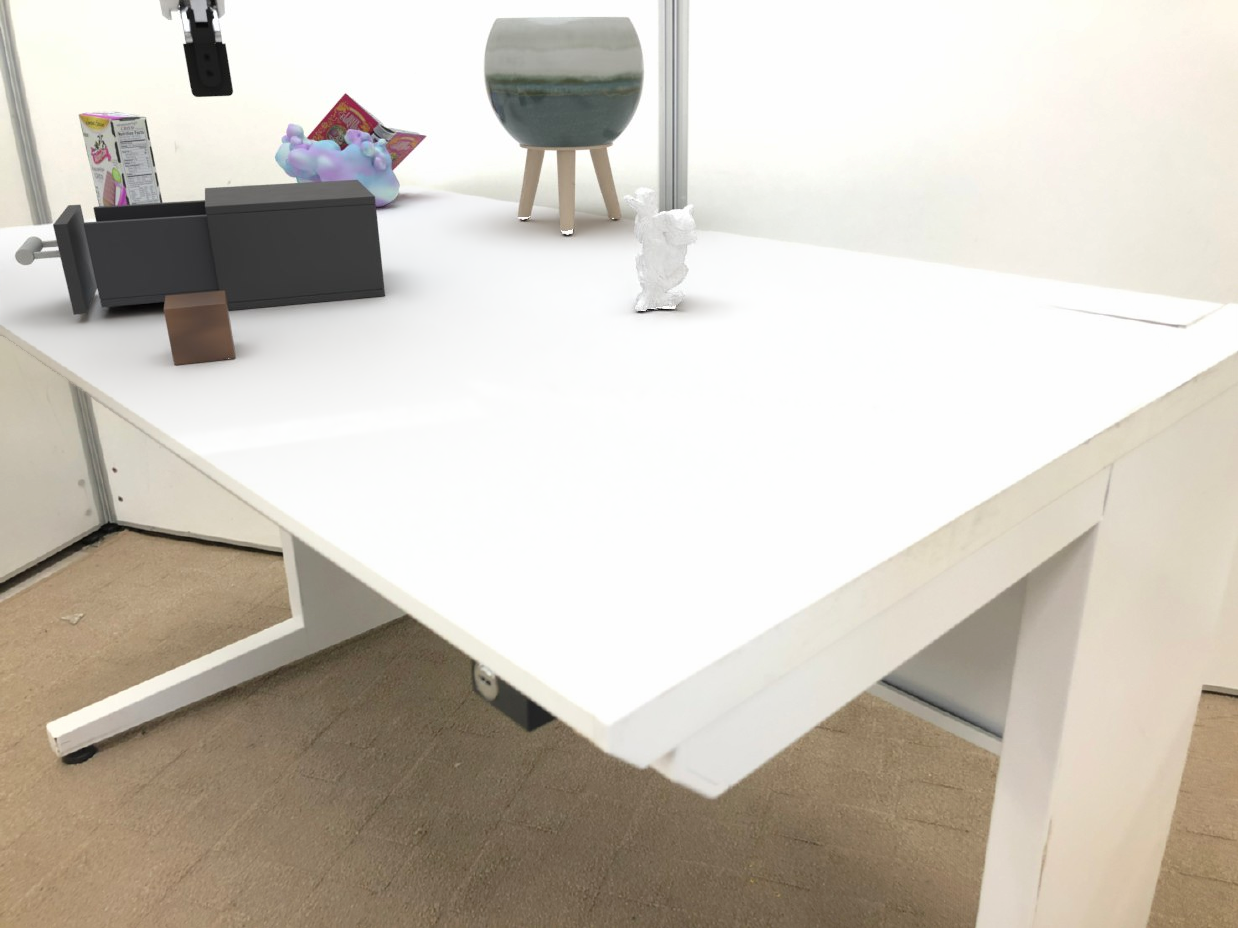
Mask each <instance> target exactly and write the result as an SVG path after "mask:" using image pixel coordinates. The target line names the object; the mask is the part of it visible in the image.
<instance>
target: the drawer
mask: <svg viewBox="0 0 1238 928" xmlns="http://www.w3.org/2000/svg"><path fill="white" fill-rule="evenodd" d="M93 213H94V217H95V218H94V219H95V221H87V222H86V221H85V220H84V219H85V218H84V214H83V209H82V205H81V204H69V205H68V204H67V206H66V207H65V209H64V210H63V211H62V212H61V214H60V215H59V217H58V218H57V219H56V220H55V222H54V223H53V225H52V226H53V231H54V235H55V239H54V240H42V239H41V238H39V236H34V235H33V236H29V237H28V238H27V239H26V240H25V241H24V242H23V244H22V245H21V246H20V247H18V249H17V250H16V251H15V254H14V258H15V261H16V263H19V264H20V265H22V266H29V265H32V264H33V262H34V261H35V260H40V259H42V260H43V259H54V258H56V259H57V258H60V262H61V266H62V271H63V274H64V278H65V279H64V280H65V284H66V287H67V292H68V296H69V301H70V304H71V309H72V313H73V315H74V316H75V315H87V314H88V312H89V310H90V308H91V304H92V302H93V300H94V297H95V295H96V293H98V298H99V301H100V302H99V303H100V307H101V308H112V307H123V306H133V305H135V306H136V305H144V304H146V305H147V304H157V303H165V296H167V295H178V294H190V293H201V292H213V291H219V287H218V281H217V275H216V269H215V263H214V257H213V251H212V246H211V240H210V234H209V228H208V222H207V216H206V210H205V199H200V200H186V201H185V200H181V201H169V202H167V201H165V202H162V203H148V204H131V205H115V206H99V205H98V206H93ZM45 248H57V249H58V250H56V249H55V250H47V251H46V250H44V251H42V250H43V249H45Z"/></svg>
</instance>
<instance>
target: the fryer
mask: <svg viewBox="0 0 1238 928" xmlns="http://www.w3.org/2000/svg"><path fill="white" fill-rule="evenodd" d="M204 200H205V210H206V216H207V222H208V228H209V234H210V240H211V246H212V251H213V257H214V263H215V269H216V275H217V281H218V287H219V291H225V293H226V299H227V305H228V311H229V312H230V311H239V310H250V309H260V308H261V309H262V308H271V307H282V306H293V305H303V304H314V303H324V302H336V301H346V300H359V299H368V298H378V297H379V298H380V297H385V296H386V291H385V281H384V271H383V261H382V253H381V252H382V251H381V240H380V233H379V223H378V222H379V221H378V213H377V207H376V204H375V203H376V202H375V196H374V195H373V194H372V193H371V192H370V191H369V190H368V189H367V188H366V187H365V186H364V185H363V184H362V183H360V182H359V181H358V180H342V181H324V182H306V183H297V182H292V183H291V182H289V183H273V184H271V183H270V184H254V185H253V184H252V185H238V186H237V185H236V186H218V187H217V186H216V187H205V188H204Z"/></svg>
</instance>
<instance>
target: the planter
mask: <svg viewBox="0 0 1238 928" xmlns="http://www.w3.org/2000/svg"><path fill="white" fill-rule="evenodd" d="M483 79H484V87H485V91H486V94H487V99H488V102H489V105H490V107H491V109H492V112H493V113H494V116H495V117H496V119H497V120H498V123H500V125H501V127H502V128H503V129H504V130H505V132H506V133H507V134H508V135H509V136H511V138H512V139H513V140H514V141H516V142H517V143H518V144H519V147H520V148H522V149H526V158H525V165H524V171H523V177H522V185H521V191H520V197H519V203H518V211H517V218H518V217H529V216H532V211H533V208H534V203H535V199H536V195H537V190H538V186H539V182H540V178H541V173H542V167H543V164H544V163H543V162H544V158H545V152H546V151H554V152H555V151H556V169H557V189H558V192H557V193H558V211H559V212H558V214H559V215H558V216H559V231H560V230H562V231H568V230H572V229H574V230H575V220H576V219H575V215H576V214H575V213H576V212H575V211H576V151H587V150H588V151H589V154H590V158H591V162H592V165H593V169H594V173H595V176H596V180H597V183H598V186H599V190H600V193H601V196H602V199H603V203H604V206H605V208H606V212H607V216H608V218H609V219H610V218H614V219H617V220H619V219H621V218H622V213H621V207H620V202H619V198H618V194H617V189H616V186H615V185H616V184H615V181H614V176H613V172H612V167H611V162H610V158H609V152H608V148H609V147H613V144H614V142H615V141H616V140H617V139H618V138H619V137H620V136H621V135H622V134H623V133H624V132H625V131H626V130H627V128H628V126H629V125H630V124H631V122H632V120H633V118H634V116H635V114H636V112H637V111H638V107H639V105H640V102H641V98H642V94H643V90H644V84H645V83H644V82H645V59H644V53H643V49H642V45H641V41H640V38H639V34H638V32H637V30H636V28H635V26H634V24H633V22H632V20H631V19H630V17H629V16H548V17H547V16H546V17H545V16H544V17H543V16H541V17H538V16H536V17H499V18H498V17H497V18H495V20H494V22H493V23H492V26H491V28H490V31H489V33H488V36H487V39H486V44H485V48H484V54H483Z"/></svg>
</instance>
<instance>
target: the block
mask: <svg viewBox="0 0 1238 928" xmlns="http://www.w3.org/2000/svg"><path fill="white" fill-rule="evenodd" d="M163 303H164V304H163V313H164V319H165V324H166V330H167V334H168V340H169V344H170V345H169V346H170V350H171V355H172V361H173V365H174V366H180V365H189V364H198V363H197V362H200V363H207V362H218V361H224V360H223V359H227V360H229V359H228V358H235V359H236V351H235V349H236V348H235V341H234V334H233V329H232V323H231V318H230V317H231V316H230V311H228V305H227V299H226V293H225V291H213V292H201V293H190V294H178V295H167V296H165V302H163Z"/></svg>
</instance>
